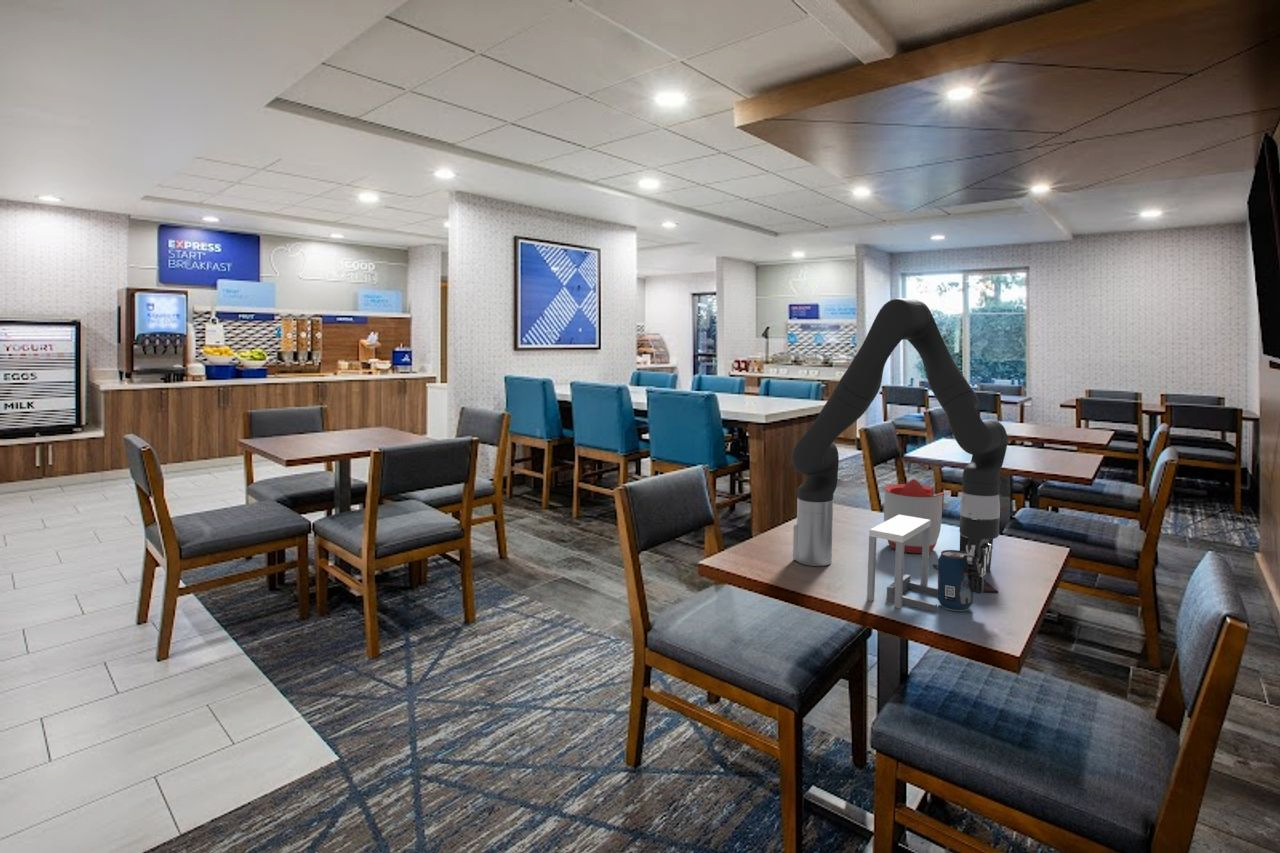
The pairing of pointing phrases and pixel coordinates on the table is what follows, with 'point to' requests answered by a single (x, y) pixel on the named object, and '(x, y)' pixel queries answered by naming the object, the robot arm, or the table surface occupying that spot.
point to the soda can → (954, 581)
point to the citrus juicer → (915, 510)
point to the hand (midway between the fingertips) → (976, 592)
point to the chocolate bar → (987, 587)
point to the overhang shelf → (902, 560)
